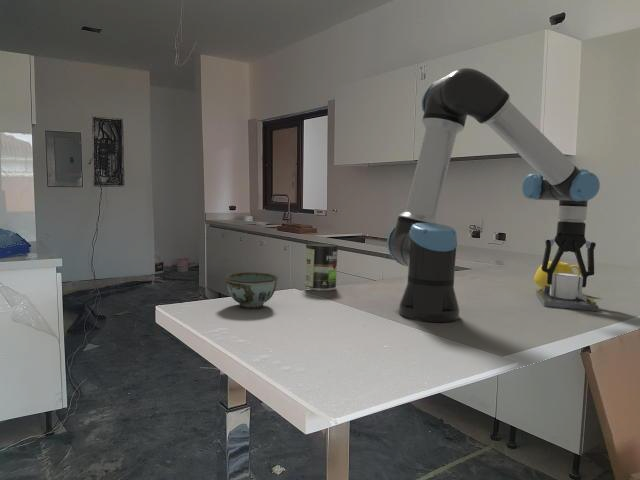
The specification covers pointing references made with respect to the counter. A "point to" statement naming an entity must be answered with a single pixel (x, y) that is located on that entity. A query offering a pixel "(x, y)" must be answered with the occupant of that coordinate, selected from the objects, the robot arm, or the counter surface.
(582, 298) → the chassis plate
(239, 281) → the bowl
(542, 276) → the teapot
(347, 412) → the counter surface
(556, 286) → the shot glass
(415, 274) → the robot arm
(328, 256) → the coffee can
